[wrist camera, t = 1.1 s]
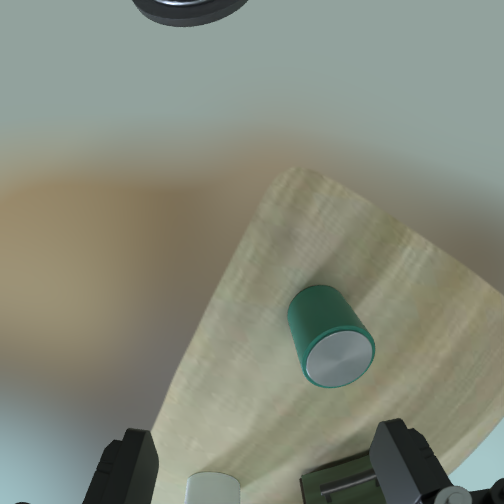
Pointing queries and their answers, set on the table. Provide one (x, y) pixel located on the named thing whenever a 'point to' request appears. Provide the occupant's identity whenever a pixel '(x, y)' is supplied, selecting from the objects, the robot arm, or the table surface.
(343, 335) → the can
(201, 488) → the cylindrical container
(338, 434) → the table surface
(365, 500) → the drawer
